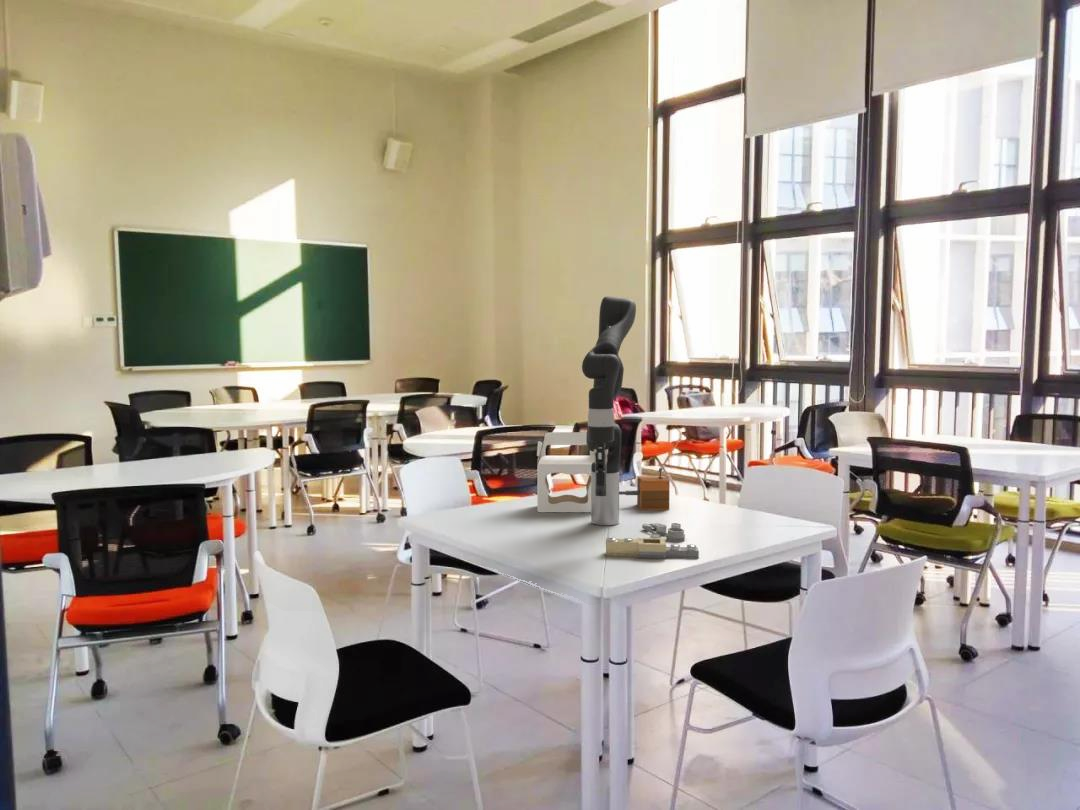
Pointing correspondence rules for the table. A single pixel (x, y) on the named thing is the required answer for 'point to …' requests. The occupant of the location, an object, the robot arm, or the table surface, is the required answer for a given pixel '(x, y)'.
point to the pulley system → (673, 533)
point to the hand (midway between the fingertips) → (600, 484)
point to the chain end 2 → (672, 552)
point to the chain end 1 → (634, 546)
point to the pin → (601, 489)
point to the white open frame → (564, 466)
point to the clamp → (651, 492)
